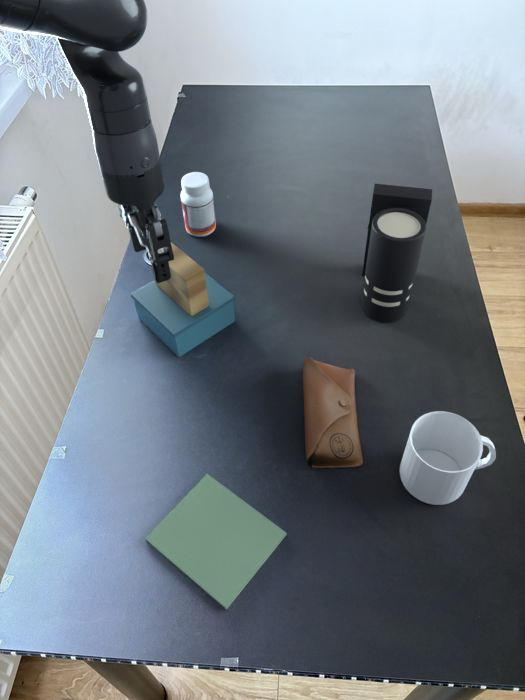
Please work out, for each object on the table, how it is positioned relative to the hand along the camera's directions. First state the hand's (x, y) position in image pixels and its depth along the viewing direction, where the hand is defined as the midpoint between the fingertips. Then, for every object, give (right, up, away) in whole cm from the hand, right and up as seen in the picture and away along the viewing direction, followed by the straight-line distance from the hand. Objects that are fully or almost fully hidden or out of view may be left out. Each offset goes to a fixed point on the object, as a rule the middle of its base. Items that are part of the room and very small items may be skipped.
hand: (151, 264), depth 85 cm
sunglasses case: (+26, -22, +5) cm, 35 cm away
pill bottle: (+4, +12, +34) cm, 37 cm away
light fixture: (+38, -2, +21) cm, 43 cm away
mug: (+41, -30, -2) cm, 51 cm away
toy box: (+3, -7, +18) cm, 20 cm away
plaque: (+3, -3, +14) cm, 14 cm away
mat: (+10, -37, -7) cm, 39 cm away
